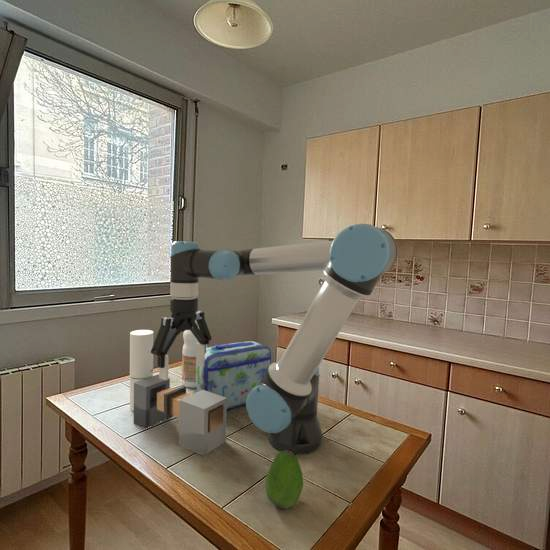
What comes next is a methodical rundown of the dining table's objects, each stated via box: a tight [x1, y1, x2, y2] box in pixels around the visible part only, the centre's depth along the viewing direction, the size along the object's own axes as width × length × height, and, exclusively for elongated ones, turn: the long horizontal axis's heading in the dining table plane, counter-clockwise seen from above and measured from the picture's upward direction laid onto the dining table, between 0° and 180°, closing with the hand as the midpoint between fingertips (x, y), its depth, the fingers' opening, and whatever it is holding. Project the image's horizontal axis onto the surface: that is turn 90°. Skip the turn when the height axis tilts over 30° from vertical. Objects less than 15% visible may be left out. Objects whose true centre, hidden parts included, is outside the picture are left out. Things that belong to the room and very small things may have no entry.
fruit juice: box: [181, 320, 208, 389], centre depth 143 cm, size 9×9×28 cm
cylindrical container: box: [129, 329, 154, 412], centre depth 121 cm, size 7×7×25 cm
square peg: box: [157, 385, 224, 432], centre depth 104 cm, size 21×7×7 cm, turn 57°
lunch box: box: [195, 340, 272, 410], centre depth 127 cm, size 26×11×21 cm, turn 123°
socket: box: [133, 374, 171, 430], centre depth 113 cm, size 6×9×13 cm, turn 147°
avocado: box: [264, 450, 304, 509], centre depth 79 cm, size 8×8×12 cm
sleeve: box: [178, 390, 228, 457], centre depth 101 cm, size 9×9×13 cm
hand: (182, 371), depth 105 cm, fingers open, 13 cm apart
